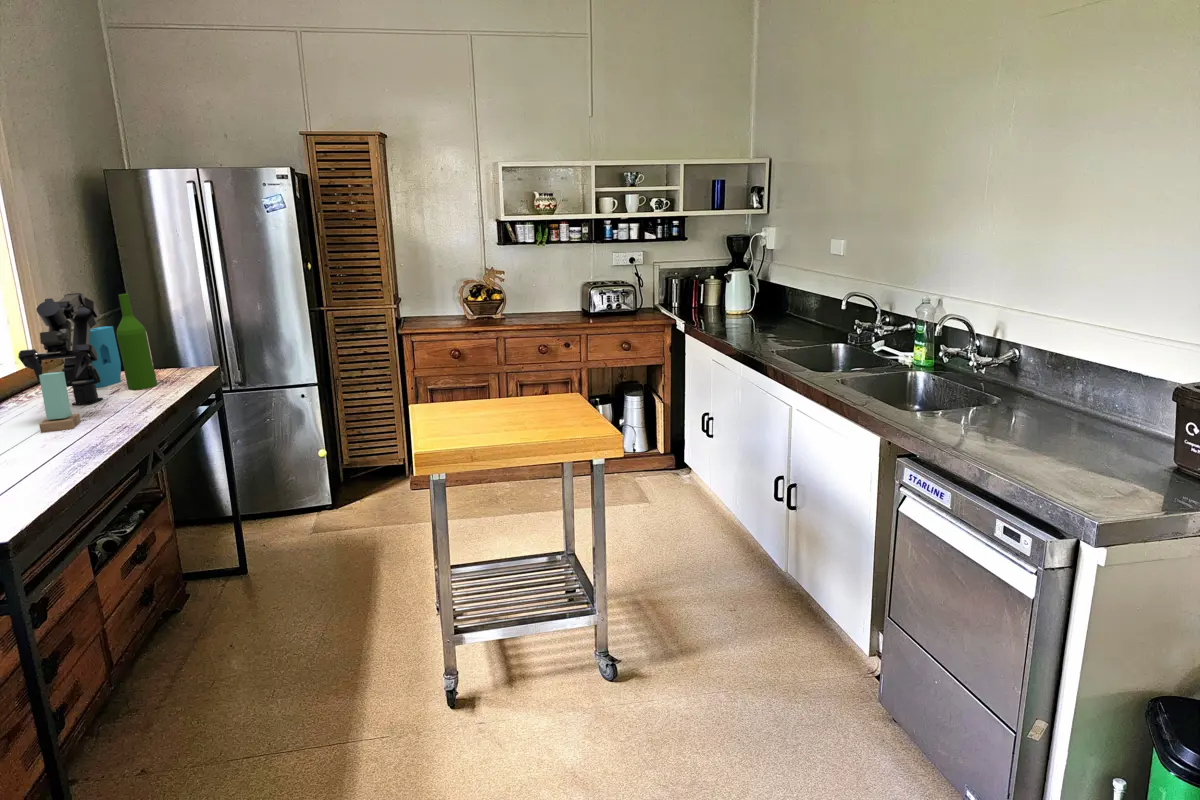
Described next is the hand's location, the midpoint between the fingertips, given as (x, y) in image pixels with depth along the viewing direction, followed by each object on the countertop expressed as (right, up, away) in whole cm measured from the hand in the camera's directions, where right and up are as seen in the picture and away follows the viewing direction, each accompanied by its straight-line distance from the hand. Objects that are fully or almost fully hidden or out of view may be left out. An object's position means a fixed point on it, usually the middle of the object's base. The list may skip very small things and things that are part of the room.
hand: (57, 379), depth 227 cm
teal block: (+2, -11, -3) cm, 12 cm away
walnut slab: (+3, -14, -2) cm, 15 cm away
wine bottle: (0, -2, +43) cm, 43 cm away
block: (-17, -1, +49) cm, 52 cm away
